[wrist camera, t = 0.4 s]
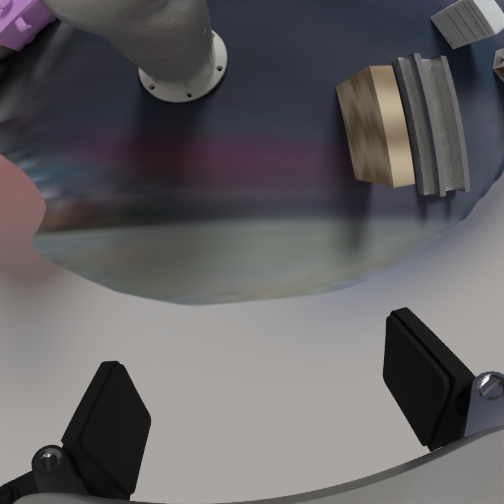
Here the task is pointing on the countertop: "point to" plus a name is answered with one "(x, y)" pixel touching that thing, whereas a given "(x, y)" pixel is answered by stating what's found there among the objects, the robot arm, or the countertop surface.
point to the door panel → (376, 127)
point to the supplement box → (469, 21)
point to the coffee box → (499, 64)
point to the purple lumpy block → (22, 22)
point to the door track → (433, 124)
